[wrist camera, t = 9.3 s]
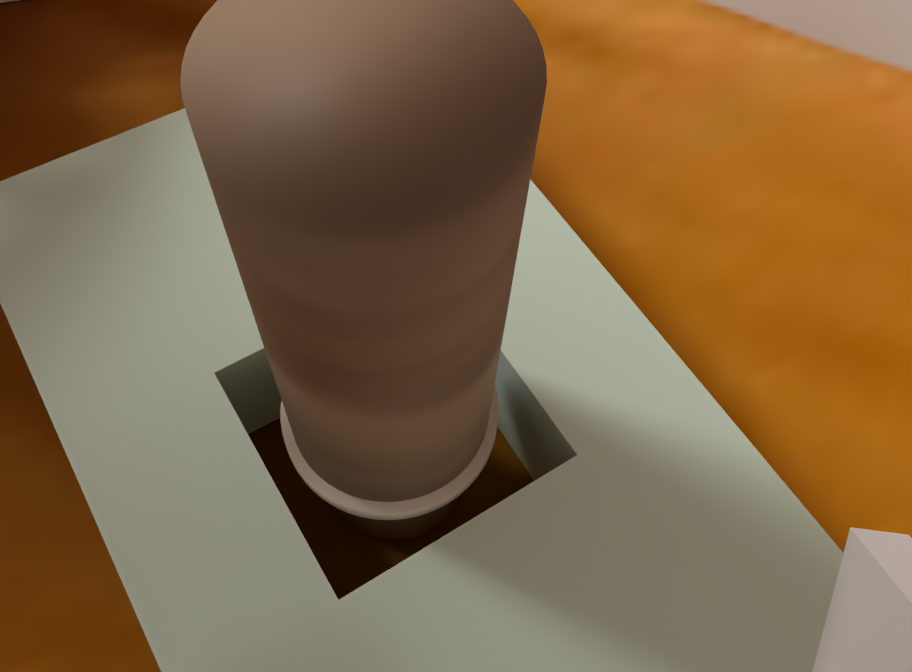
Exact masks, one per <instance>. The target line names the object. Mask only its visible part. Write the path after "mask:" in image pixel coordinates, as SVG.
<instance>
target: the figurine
mask: <svg viewBox="0 0 912 672" xmlns="http://www.w3.org/2000/svg"><path fill="white" fill-rule="evenodd" d="M11 1H19V0H0V3H3V2H11Z"/></svg>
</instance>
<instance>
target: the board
mask: <svg viewBox="0 0 912 672" xmlns="http://www.w3.org/2000/svg"><path fill="white" fill-rule="evenodd" d="M0 303H1V306H2V308H3V310H4V313H5V315H6V317H7V320H8V322H9V324H10V326H11V329H12V331H13V333H14V336H15V338H16V340H17V342H18V345H19V347H20V349H21V352H22V354H23V356H24V358H25V361H26V363H27V365H28V368H29V370H30V372H31V375H32V377H33V379H34V381H35V384H36V386H37V388H38V391H39V393H40V395H41V397H42V400H43V402H44V404H45V407H46V409H47V411H48V414H49V416H50V418H51V420H52V423H53V425H54V427H55V430H56V432H57V434H58V436H59V439H60V441H61V443H62V446H63V448H64V450H65V452H66V455H67V457H68V459H69V462H70V464H71V466H72V469H73V471H74V473H75V475H76V478H77V480H78V482H79V485H80V487H81V489H82V491H83V494H84V496H85V498H86V501H87V503H88V505H89V507H90V510H91V512H92V514H93V517H94V519H95V521H96V524H97V526H98V528H99V530H100V533H101V535H102V537H103V540H104V542H105V544H106V546H107V549H108V551H109V553H110V556H111V558H112V560H113V562H114V565H115V567H116V569H117V572H118V574H119V576H120V579H121V581H122V583H123V585H124V588H125V590H126V592H127V595H128V597H129V599H130V601H131V604H132V606H133V608H134V611H135V613H136V615H137V618H138V620H139V622H140V624H141V627H142V629H143V631H144V634H145V636H146V638H147V640H148V643H149V645H150V647H151V650H152V652H153V654H154V656H155V659H156V661H157V663H158V666H159V668H160V670H161V672H812V671H813V667H814V664H815V660H816V656H817V652H818V648H819V645H820V641H821V637H822V633H823V629H824V626H825V622H826V618H827V614H828V610H829V606H830V603H831V599H832V595H833V591H834V587H835V584H836V580H837V576H838V572H839V568H840V565H841V561H842V557H843V552H842V551H841V550H840V548H839V547H838V546H837V545H836V544H835V542H834V541H833V540H832V539H831V538H830V536H829V535H828V534H827V533H826V532H825V530H824V529H823V528H822V527H821V526H820V524H819V523H818V522H817V521H816V520H815V519H814V517H813V516H812V515H811V514H810V513H809V511H808V510H807V509H806V508H805V507H804V505H803V504H802V503H801V502H800V501H799V499H798V498H797V497H796V496H795V495H794V493H793V492H792V491H791V490H790V489H789V487H788V486H787V485H786V484H785V483H784V481H783V480H782V479H781V478H780V477H779V476H778V474H777V473H776V472H775V471H774V470H773V468H772V467H771V466H770V465H769V464H768V462H767V461H766V460H765V459H764V458H763V456H762V455H761V454H760V453H759V452H758V450H757V449H756V448H755V447H754V446H753V444H752V443H751V442H750V441H749V440H748V438H747V437H746V436H745V435H744V434H743V433H742V431H741V430H740V429H739V428H738V427H737V425H736V424H735V423H734V422H733V421H732V419H731V418H730V417H729V416H728V415H727V413H726V412H725V411H724V410H723V409H722V407H721V406H720V405H719V404H718V403H717V401H716V400H715V399H714V398H713V397H712V395H711V394H710V393H709V392H708V391H707V390H706V388H705V387H704V386H703V385H702V384H701V382H700V381H699V380H698V379H697V378H696V376H695V375H694V374H693V373H692V372H691V370H690V369H689V368H688V367H687V366H686V364H685V363H684V362H683V361H682V360H681V358H680V357H679V356H678V355H677V354H676V353H675V351H674V350H673V349H672V348H671V347H670V345H669V344H668V343H667V342H666V341H665V339H664V338H663V337H662V336H661V335H660V333H659V332H658V331H657V330H656V329H655V327H654V326H653V325H652V324H651V323H650V321H649V320H648V319H647V318H646V317H645V315H644V314H643V313H642V312H641V311H640V310H639V308H638V307H637V306H636V305H635V304H634V302H633V301H632V300H631V299H630V298H629V296H628V295H627V294H626V293H625V292H624V290H623V289H622V288H621V287H620V286H619V284H618V283H617V282H616V281H615V280H614V278H613V277H612V276H611V275H610V274H609V272H608V271H607V270H606V269H605V268H604V267H603V265H602V264H601V263H600V262H599V261H598V259H597V258H596V257H595V256H594V255H593V253H592V252H591V251H590V250H589V249H588V247H587V246H586V245H585V244H584V243H583V241H582V240H581V239H580V238H579V237H578V235H577V234H576V233H575V232H574V231H573V230H572V228H571V227H570V226H569V225H568V224H567V222H566V221H565V220H564V219H563V218H562V216H561V215H560V214H559V213H558V212H557V210H556V209H555V208H554V207H553V206H552V204H551V203H550V202H549V201H548V200H547V198H546V197H545V196H544V195H543V194H542V192H541V191H540V190H539V189H538V188H537V187H536V185H535V184H534V183H533V182H532V181H531V179H530V184H529V190H528V195H527V201H526V207H525V213H524V218H523V224H522V230H521V236H520V241H519V247H518V253H517V259H516V264H515V270H514V276H513V282H512V287H511V293H510V299H509V305H508V310H507V316H506V322H505V328H504V333H503V339H502V345H501V351H500V356H499V362H498V368H497V374H496V379H495V386H496V390H497V395H498V402H499V419H498V426H497V427H498V429H499V430H500V432H501V433H502V435H503V436H504V437H505V439H506V440H507V442H508V443H509V445H510V446H511V447H512V449H513V450H514V452H515V453H516V455H517V456H518V458H519V459H520V460H521V462H522V463H523V465H524V466H525V468H526V469H527V470H528V472H529V473H530V475H531V476H532V478H533V479H534V482H532V483H530V484H529V485H527V486H525V487H524V488H522V489H520V490H519V491H517V492H515V493H514V494H512V495H510V496H509V497H507V498H506V499H504V500H502V501H501V502H499V503H497V504H496V505H494V506H492V507H491V508H489V509H487V510H486V511H484V512H482V513H481V514H479V515H478V516H476V517H474V518H473V519H471V520H469V521H468V522H466V523H464V524H463V525H461V526H459V527H458V528H456V529H454V530H453V531H451V532H450V533H448V534H446V535H445V536H443V537H441V538H440V539H438V540H436V541H435V542H433V543H431V544H430V545H428V546H426V547H425V548H423V549H421V550H420V551H418V552H417V553H415V554H413V555H412V556H410V557H408V558H407V559H405V560H403V561H402V562H400V563H398V564H397V565H395V566H393V567H392V568H390V569H389V570H387V571H385V572H384V573H382V574H380V575H379V576H377V577H375V578H374V579H372V580H370V581H369V582H367V583H365V584H364V585H362V586H361V587H359V588H357V589H356V590H354V591H352V592H351V593H349V594H347V595H346V596H344V597H342V598H341V599H339V600H338V598H337V596H336V594H335V593H334V591H333V589H332V587H331V585H330V583H329V582H328V580H327V578H326V576H325V574H324V572H323V571H322V569H321V567H320V565H319V563H318V561H317V560H316V558H315V556H314V554H313V552H312V551H311V549H310V547H309V545H308V543H307V541H306V540H305V538H304V536H303V534H302V532H301V530H300V529H299V527H298V525H297V523H296V521H295V519H294V518H293V516H292V514H291V512H290V510H289V509H288V507H287V505H286V503H285V501H284V499H283V498H282V496H281V494H280V492H279V490H278V488H277V487H276V485H275V483H274V481H273V479H272V477H271V476H270V474H269V472H268V470H267V468H266V467H265V465H264V463H263V461H262V459H261V457H260V456H259V454H258V452H257V450H256V448H255V446H254V445H253V443H252V441H251V439H250V437H249V435H248V434H250V433H252V432H254V431H256V430H257V429H259V428H261V427H263V426H265V425H267V424H269V423H271V422H273V421H275V420H276V419H278V418H280V408H281V401H282V400H281V397H280V394H279V391H278V388H277V385H276V382H275V379H274V376H273V373H272V370H271V367H270V364H269V361H268V358H267V355H266V352H265V349H264V346H263V343H262V340H261V337H260V334H259V331H258V328H257V324H256V321H255V318H254V315H253V312H252V309H251V306H250V303H249V300H248V297H247V294H246V291H245V288H244V285H243V282H242V279H241V276H240V273H239V270H238V267H237V264H236V261H235V258H234V255H233V252H232V249H231V246H230V243H229V240H228V237H227V234H226V231H225V228H224V225H223V222H222V219H221V216H220V213H219V210H218V207H217V204H216V201H215V198H214V195H213V192H212V189H211V186H210V183H209V180H208V177H207V174H206V171H205V168H204V165H203V162H202V159H201V156H200V153H199V150H198V147H197V144H196V141H195V138H194V135H193V132H192V129H191V126H190V123H189V120H188V117H187V113H186V110H185V108H184V109H181V110H179V111H176V112H174V113H171V114H168V115H166V116H163V117H161V118H158V119H156V120H153V121H151V122H148V123H146V124H143V125H141V126H138V127H136V128H133V129H131V130H128V131H126V132H123V133H121V134H118V135H116V136H113V137H111V138H108V139H105V140H103V141H100V142H98V143H95V144H93V145H90V146H88V147H85V148H83V149H80V150H78V151H75V152H73V153H70V154H68V155H65V156H63V157H60V158H58V159H55V160H53V161H50V162H48V163H45V164H42V165H40V166H37V167H35V168H32V169H30V170H27V171H25V172H22V173H20V174H17V175H15V176H12V177H10V178H7V179H5V180H2V181H0Z"/></svg>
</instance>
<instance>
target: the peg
mask: <svg viewBox="0 0 912 672" xmlns="http://www.w3.org/2000/svg"><path fill="white" fill-rule="evenodd" d="M180 84H181V92H182V100H183V103H184V107H185V110H186V113H187V117H188V120H189V123H190V126H191V129H192V132H193V135H194V138H195V141H196V144H197V147H198V150H199V153H200V156H201V159H202V162H203V165H204V168H205V171H206V174H207V177H208V180H209V183H210V186H211V189H212V192H213V195H214V198H215V201H216V204H217V207H218V210H219V213H220V216H221V219H222V222H223V225H224V228H225V231H226V234H227V237H228V240H229V243H230V246H231V249H232V252H233V255H234V258H235V261H236V264H237V267H238V270H239V273H240V276H241V279H242V282H243V285H244V288H245V291H246V294H247V297H248V300H249V303H250V306H251V309H252V312H253V315H254V318H255V321H256V324H257V328H258V331H259V334H260V337H261V340H262V343H263V346H264V349H265V352H266V355H267V358H268V361H269V364H270V367H271V370H272V373H273V376H274V379H275V382H276V385H277V388H278V391H279V394H280V397H281V400H282V401H281V408H280V422H281V429H282V435H283V438H284V442H285V445H286V448H287V451H288V454H289V456H290V459H291V461H292V463H293V465H294V467H295V469H296V471H297V472H298V474H299V475H300V477H301V478H302V480H303V481H304V482H305V483H306V484H307V485H308V486H309V488H310V489H311V490H312V491H313V492H315V493H316V494H317V495H318V496H319V497H320V498H322V499H323V500H324V501H326V502H328V503H329V504H331V505H332V506H334V507H336V508H337V510H338V511H339V513H340V514H341V516H342V517H343V518H344V519H345V520H346V521H347V522H348V523H349V524H350V525H351V526H353V527H354V528H355V529H357V530H358V531H360V532H362V533H364V534H366V535H368V536H371V537H374V538H378V539H384V540H404V539H409V538H413V537H416V536H419V535H422V534H423V533H425V532H427V531H429V530H431V529H432V528H434V527H435V526H437V525H438V524H439V523H440V522H441V521H442V520H443V519H444V518H445V517H446V516H447V514H448V513H449V512H450V510H451V509H452V507H453V505H454V503H455V501H456V499H457V497H458V496H459V495H461V494H462V493H463V492H464V491H465V490H466V489H467V488H468V487H469V486H470V485H471V484H472V483H473V482H474V481H475V479H476V478H477V477H478V476H479V474H480V473H481V471H482V469H483V468H484V466H485V465H486V463H487V460H488V458H489V456H490V454H491V451H492V448H493V445H494V441H495V437H496V432H497V426H498V419H499V402H498V395H497V390H496V386H495V379H496V374H497V368H498V362H499V356H500V351H501V345H502V339H503V333H504V328H505V322H506V316H507V310H508V305H509V299H510V293H511V287H512V282H513V276H514V270H515V264H516V259H517V253H518V247H519V241H520V236H521V230H522V224H523V218H524V213H525V207H526V201H527V195H528V190H529V184H530V178H531V172H532V167H533V161H534V155H535V149H536V144H537V138H538V132H539V126H540V121H541V115H542V109H543V103H544V97H545V91H546V84H547V75H546V62H545V57H544V53H543V48H542V46H541V43H540V41H539V38H538V36H537V33H536V31H535V30H534V28H533V26H532V25H531V23H530V22H529V20H528V18H527V17H526V16H525V14H524V13H523V12H522V11H521V10H520V8H519V7H518V6H517V5H516V4H515V3H514V2H513V1H512V0H218V1H217V2H215V4H214V5H213V6H212V7H211V8H210V9H209V10H208V11H207V13H206V14H205V15H204V16H203V17H202V19H201V21H200V22H199V24H198V25H197V27H196V28H195V30H194V31H193V33H192V35H191V38H190V40H189V42H188V44H187V47H186V50H185V53H184V57H183V61H182V66H181V80H180Z"/></svg>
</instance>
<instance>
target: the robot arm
mask: <svg viewBox="0 0 912 672" xmlns="http://www.w3.org/2000/svg"><path fill="white" fill-rule="evenodd" d="M812 672H912V538H911V537H910V536H909V535H906V534H898V533H891V532H883V531H875V530H868V529H860V528H852V527H850V530H849V534H848V538H847V542H846V546H845V549H844V553H843V557H842V561H841V565H840V568H839V572H838V576H837V580H836V584H835V587H834V591H833V595H832V599H831V603H830V606H829V610H828V614H827V618H826V622H825V626H824V629H823V633H822V637H821V641H820V645H819V648H818V652H817V656H816V660H815V664H814V667H813V671H812Z"/></svg>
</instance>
